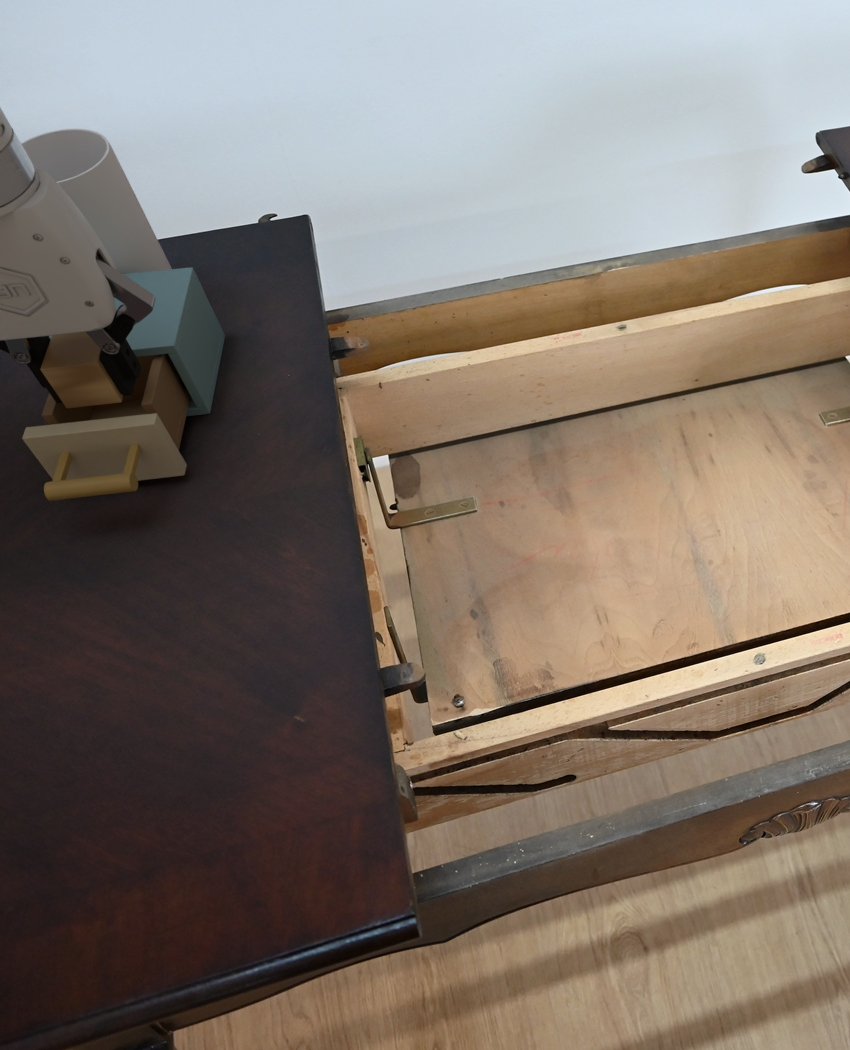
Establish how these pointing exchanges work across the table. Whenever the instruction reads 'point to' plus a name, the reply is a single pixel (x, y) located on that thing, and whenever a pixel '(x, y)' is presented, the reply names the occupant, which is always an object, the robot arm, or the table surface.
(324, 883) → the table surface
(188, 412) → the cabinet
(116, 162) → the cup
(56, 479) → the drawer
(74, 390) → the block
